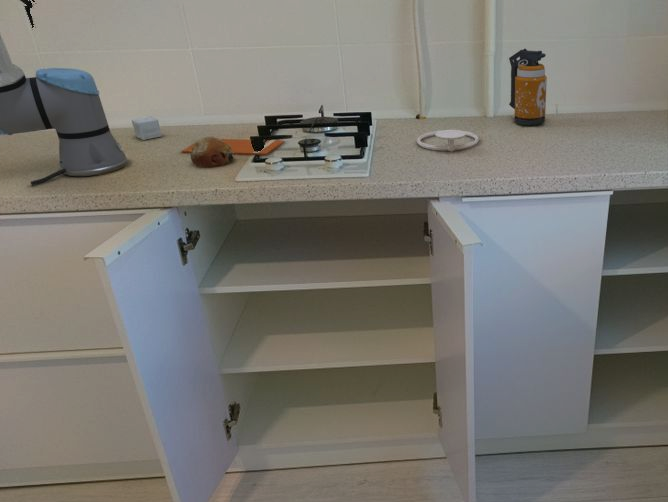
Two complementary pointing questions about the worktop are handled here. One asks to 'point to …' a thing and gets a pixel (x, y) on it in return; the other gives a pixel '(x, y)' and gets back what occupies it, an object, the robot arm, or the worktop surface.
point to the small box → (146, 128)
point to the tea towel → (246, 146)
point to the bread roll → (211, 153)
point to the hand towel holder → (449, 136)
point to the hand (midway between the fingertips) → (7, 33)
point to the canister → (528, 87)
